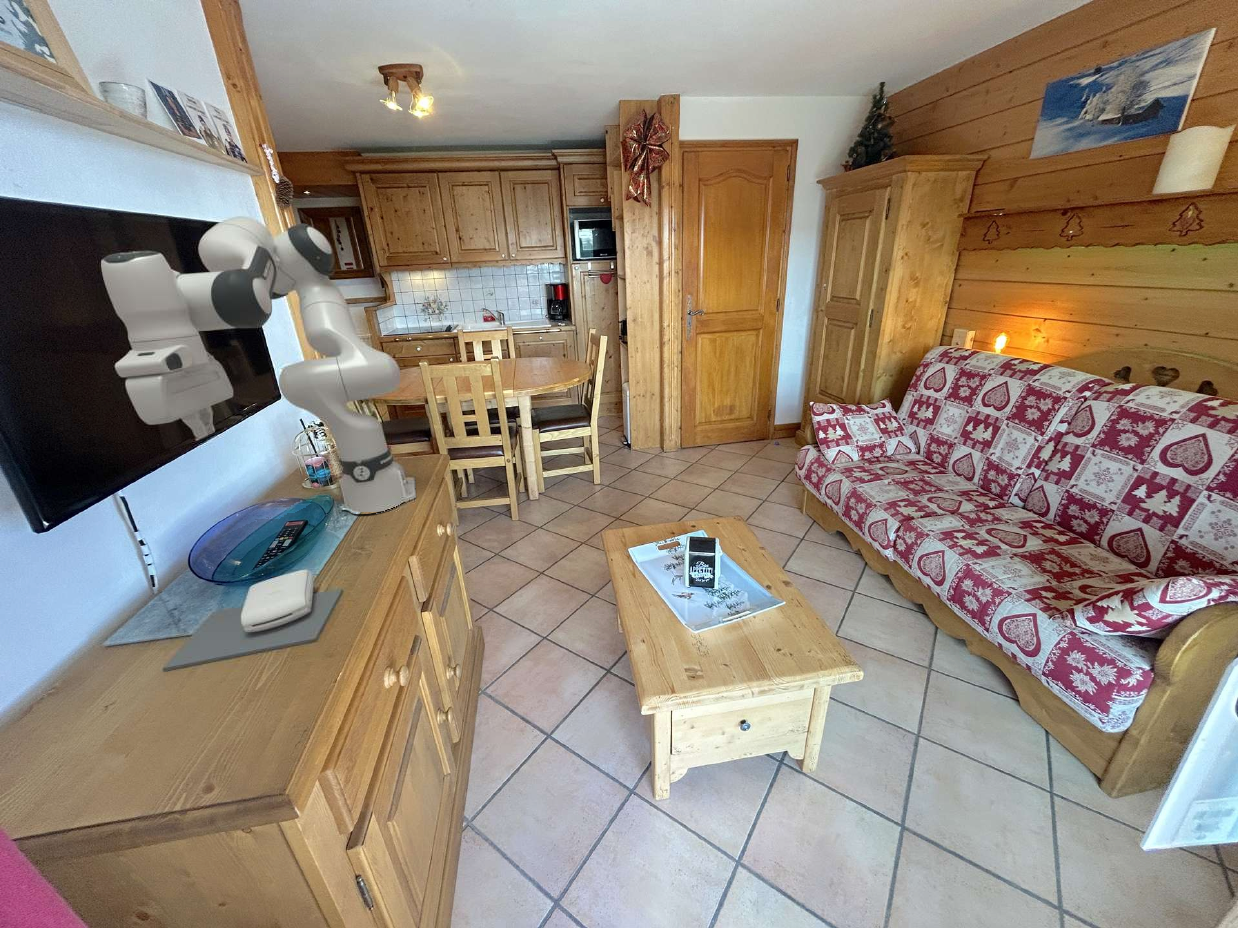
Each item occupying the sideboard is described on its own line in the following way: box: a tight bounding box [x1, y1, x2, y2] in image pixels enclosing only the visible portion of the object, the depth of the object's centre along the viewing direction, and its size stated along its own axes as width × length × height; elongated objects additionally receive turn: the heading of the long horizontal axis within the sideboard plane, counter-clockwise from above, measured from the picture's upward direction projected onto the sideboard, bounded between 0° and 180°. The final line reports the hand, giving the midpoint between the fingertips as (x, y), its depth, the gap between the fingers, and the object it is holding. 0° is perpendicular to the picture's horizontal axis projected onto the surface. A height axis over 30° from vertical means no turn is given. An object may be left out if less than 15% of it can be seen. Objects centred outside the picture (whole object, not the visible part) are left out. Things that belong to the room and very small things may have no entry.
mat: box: [162, 588, 344, 672], centre depth 83 cm, size 14×22×1 cm, turn 102°
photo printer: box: [241, 569, 315, 632], centre depth 85 cm, size 10×4×12 cm
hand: (205, 435), depth 85 cm, fingers closed
